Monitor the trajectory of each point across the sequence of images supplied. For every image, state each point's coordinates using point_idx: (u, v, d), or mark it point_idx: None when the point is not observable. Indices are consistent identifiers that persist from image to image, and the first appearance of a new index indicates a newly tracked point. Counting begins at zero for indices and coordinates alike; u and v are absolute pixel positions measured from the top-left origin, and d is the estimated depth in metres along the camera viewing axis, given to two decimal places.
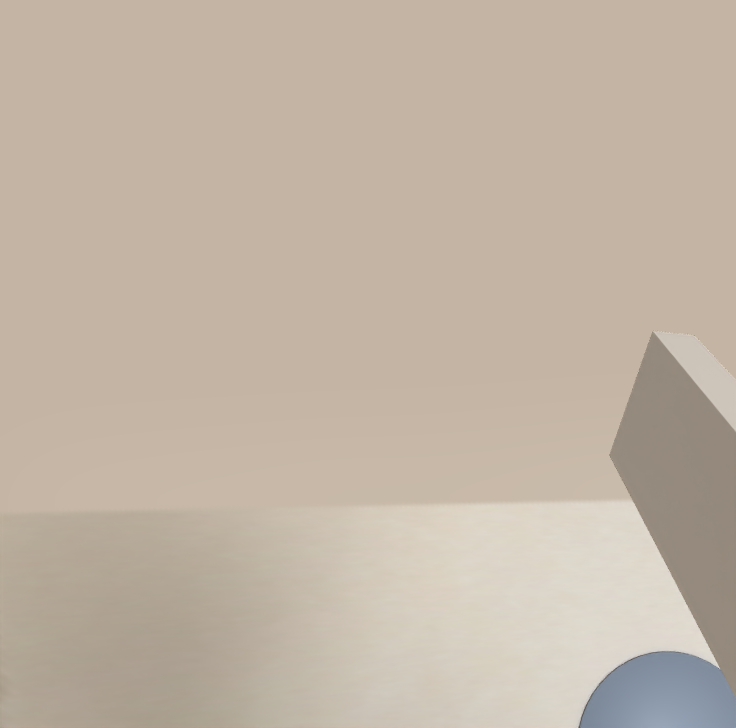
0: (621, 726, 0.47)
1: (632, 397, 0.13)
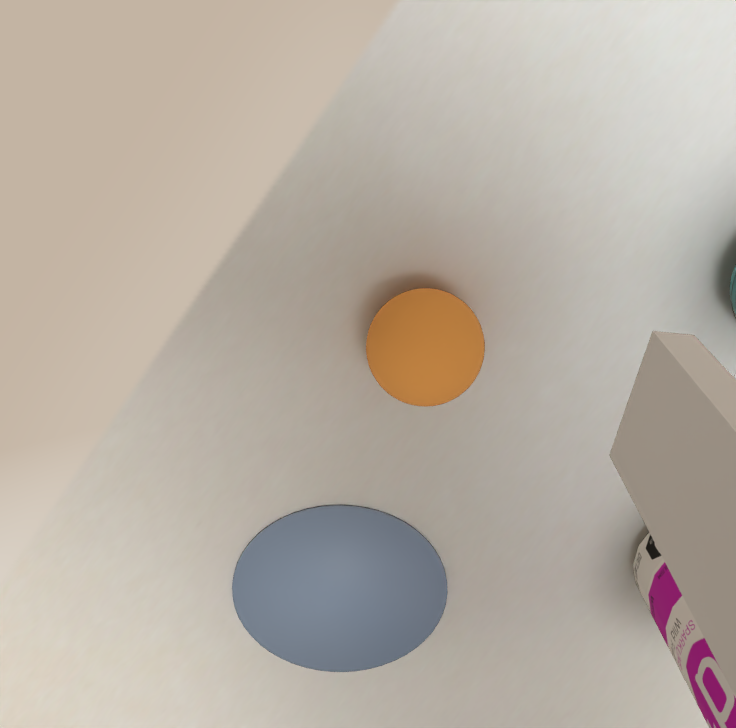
0: (284, 615, 0.43)
1: (632, 397, 0.13)
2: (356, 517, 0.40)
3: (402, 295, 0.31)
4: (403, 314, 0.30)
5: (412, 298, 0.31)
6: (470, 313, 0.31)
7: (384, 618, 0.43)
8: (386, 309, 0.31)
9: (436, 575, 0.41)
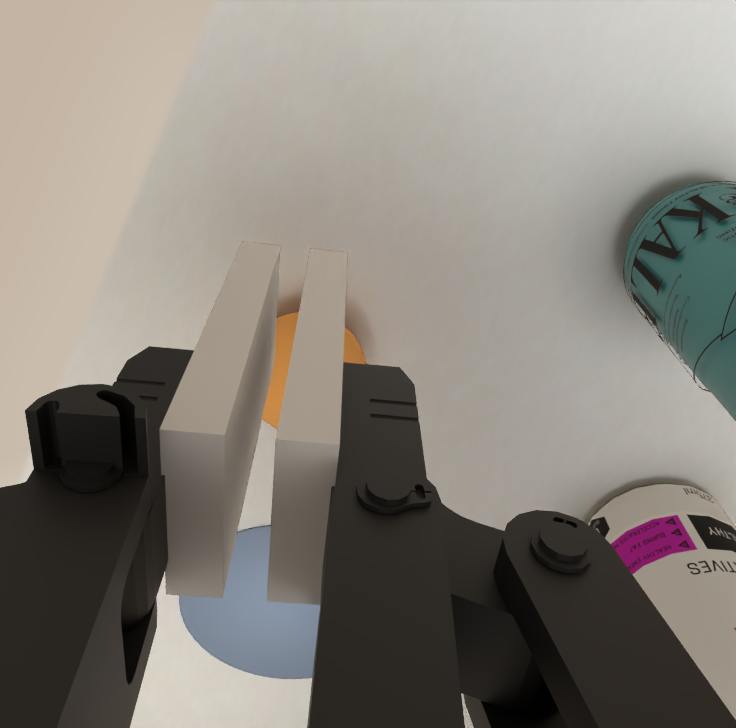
0: (237, 632, 0.43)
1: None
2: None
3: None
4: None
5: (277, 327, 0.29)
6: None
7: None
8: None
9: None
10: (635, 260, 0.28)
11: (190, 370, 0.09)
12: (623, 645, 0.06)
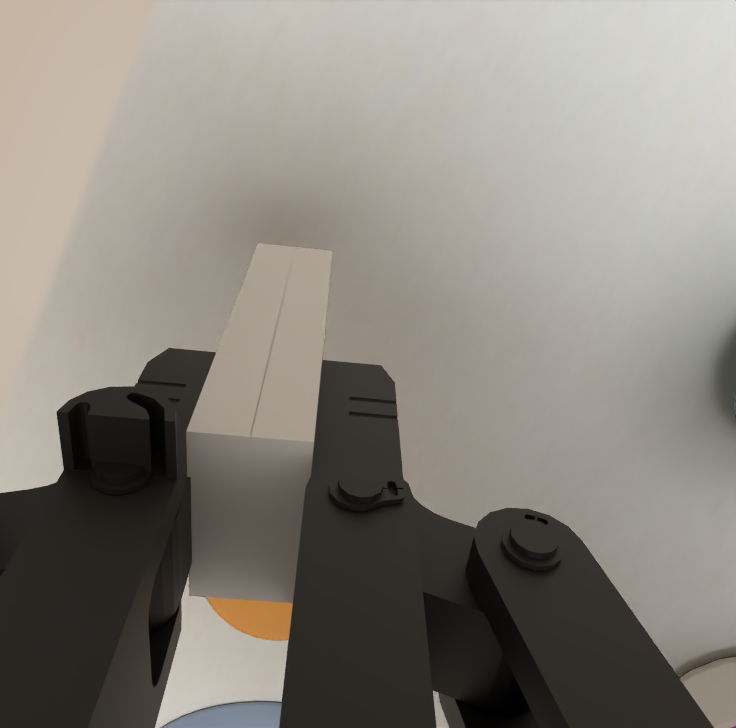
0: None
1: None
2: (265, 715, 0.30)
3: None
4: None
5: None
6: None
7: None
8: None
9: None
10: None
11: (214, 373, 0.09)
12: (593, 641, 0.06)
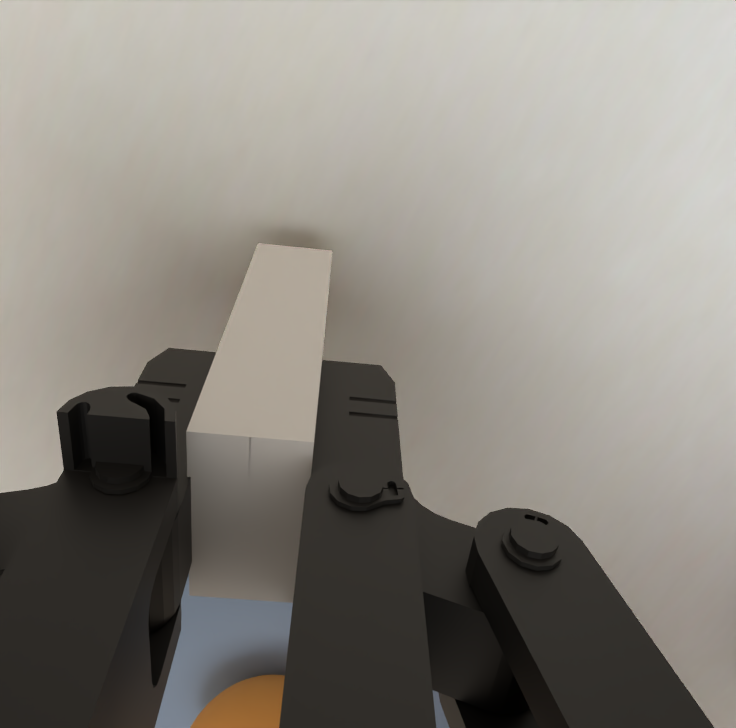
0: None
1: None
2: None
3: (213, 721, 0.20)
4: None
5: None
6: None
7: None
8: None
9: None
10: None
11: (214, 372, 0.09)
12: (593, 640, 0.06)
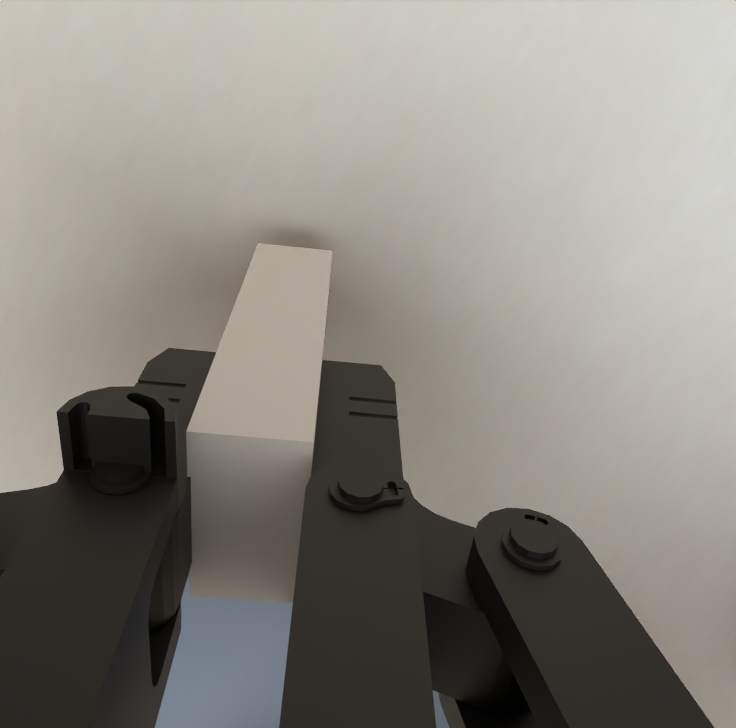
0: None
1: None
2: None
3: None
4: None
5: None
6: None
7: None
8: None
9: None
10: None
11: (214, 372, 0.09)
12: (593, 642, 0.06)
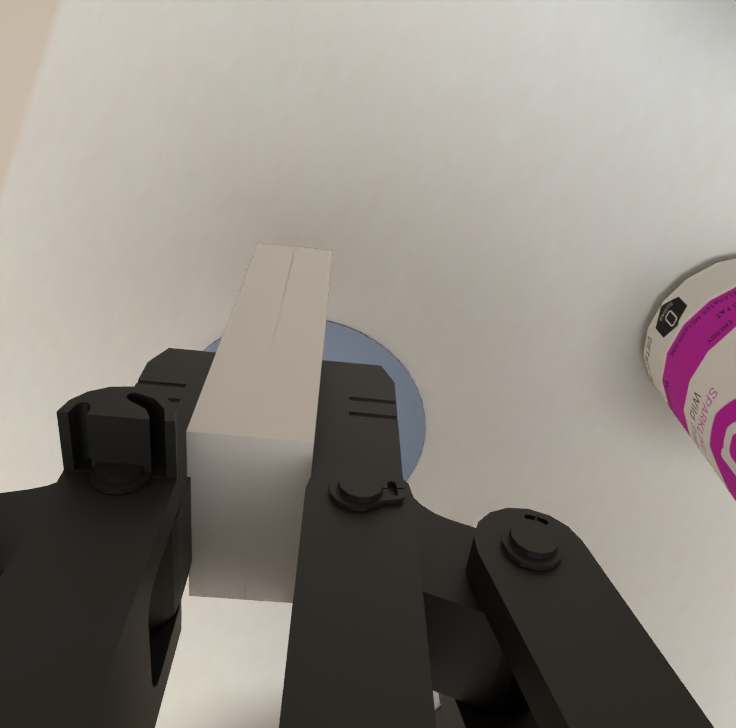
0: None
1: None
2: None
3: None
4: None
5: None
6: None
7: None
8: None
9: (408, 395, 0.35)
10: None
11: (214, 373, 0.09)
12: (593, 641, 0.06)
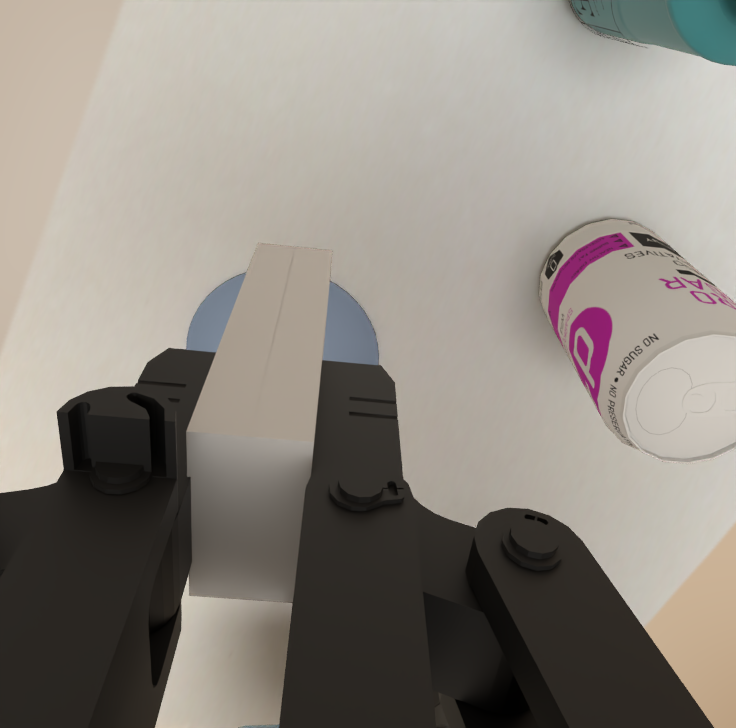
0: None
1: None
2: None
3: None
4: None
5: None
6: None
7: None
8: None
9: (364, 328, 0.46)
10: None
11: (213, 372, 0.09)
12: (593, 640, 0.06)
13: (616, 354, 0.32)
